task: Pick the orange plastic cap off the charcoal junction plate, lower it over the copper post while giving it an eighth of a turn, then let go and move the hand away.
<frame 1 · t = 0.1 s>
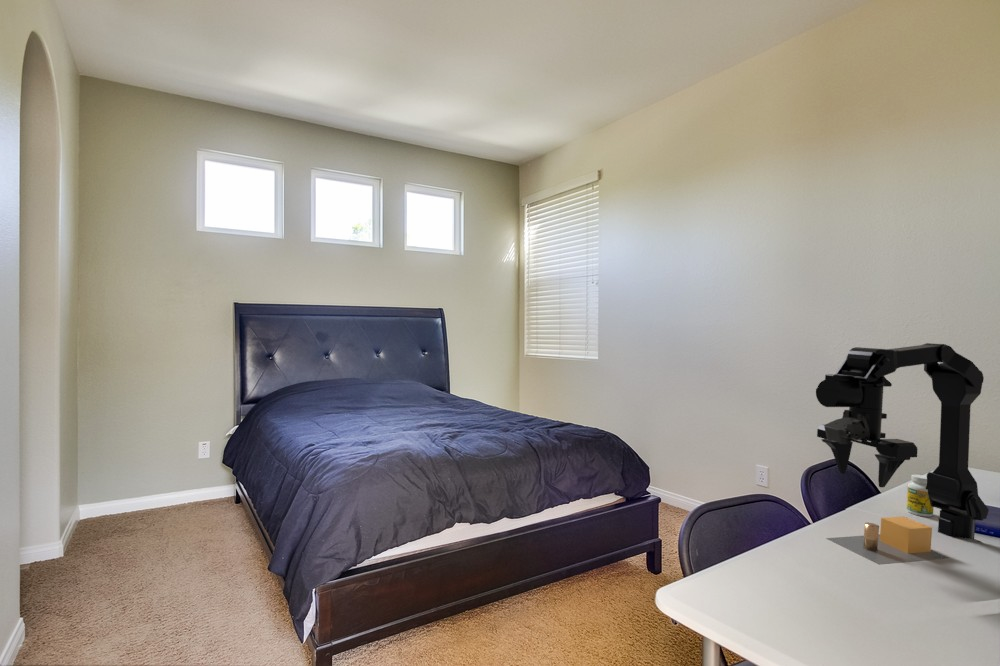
hand: (861, 480, 111), 14 cm above the table, fingers open, 9 cm apart
supplement bottle: (919, 514, 135), on the table
junction plate: (885, 554, 109), on the table
orange cap: (904, 546, 110), point 1 cm above the table, touching junction plate
copper post: (870, 548, 108), resting on junction plate
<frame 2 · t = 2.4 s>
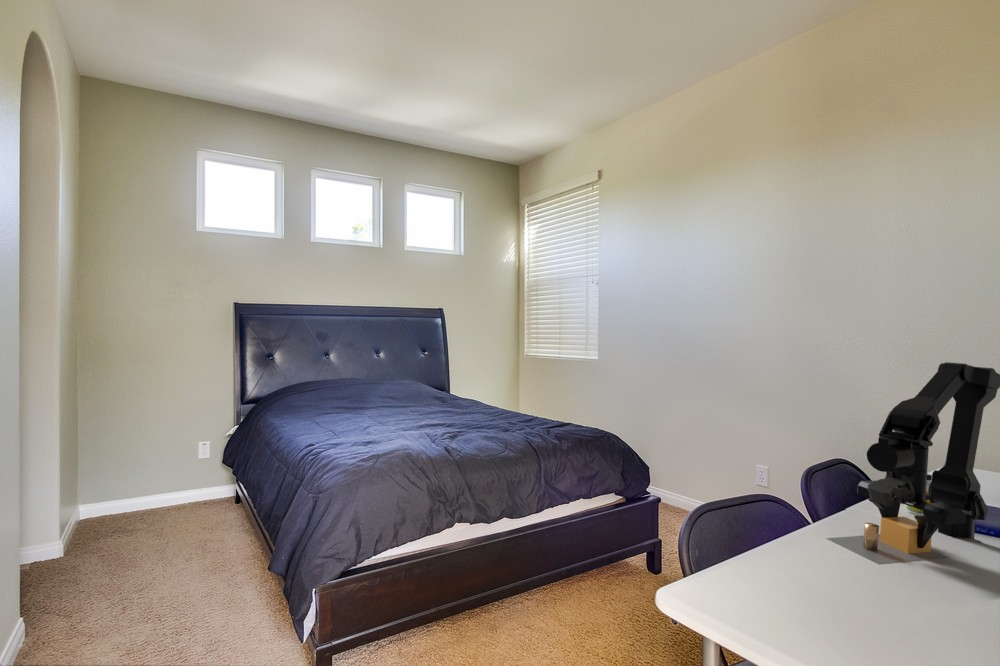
hand: (904, 541, 110), 3 cm above the table, fingers closed on orange cap, 6 cm apart
orange cap: (904, 546, 110), point 1 cm above the table, touching gripper, junction plate
everything else where it was.
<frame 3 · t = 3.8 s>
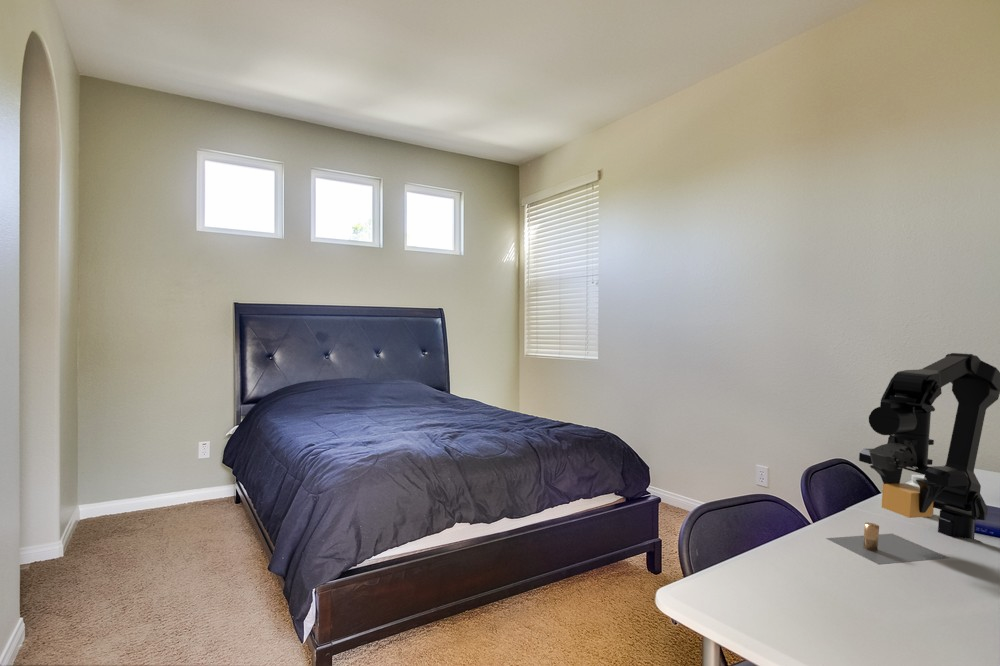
hand: (906, 506, 110), 10 cm above the table, fingers closed on orange cap, 6 cm apart
orange cap: (906, 511, 110), point 9 cm above the table, touching gripper
everything else where it was.
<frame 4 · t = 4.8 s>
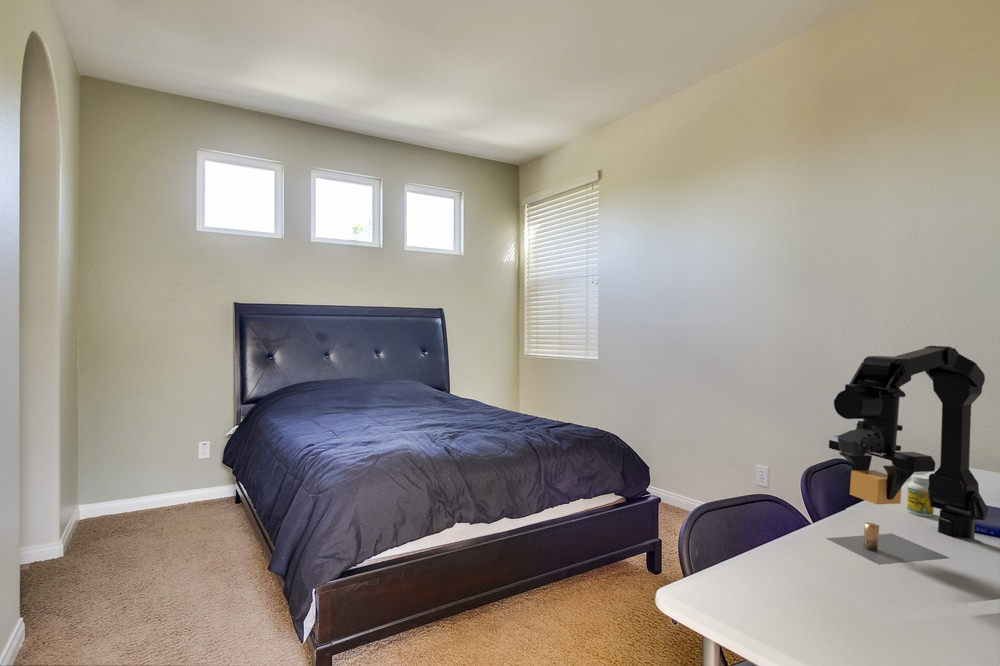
hand: (874, 494, 107), 13 cm above the table, fingers closed on orange cap, 6 cm apart
orange cap: (874, 498, 107), point 12 cm above the table, touching gripper
everything else where it was.
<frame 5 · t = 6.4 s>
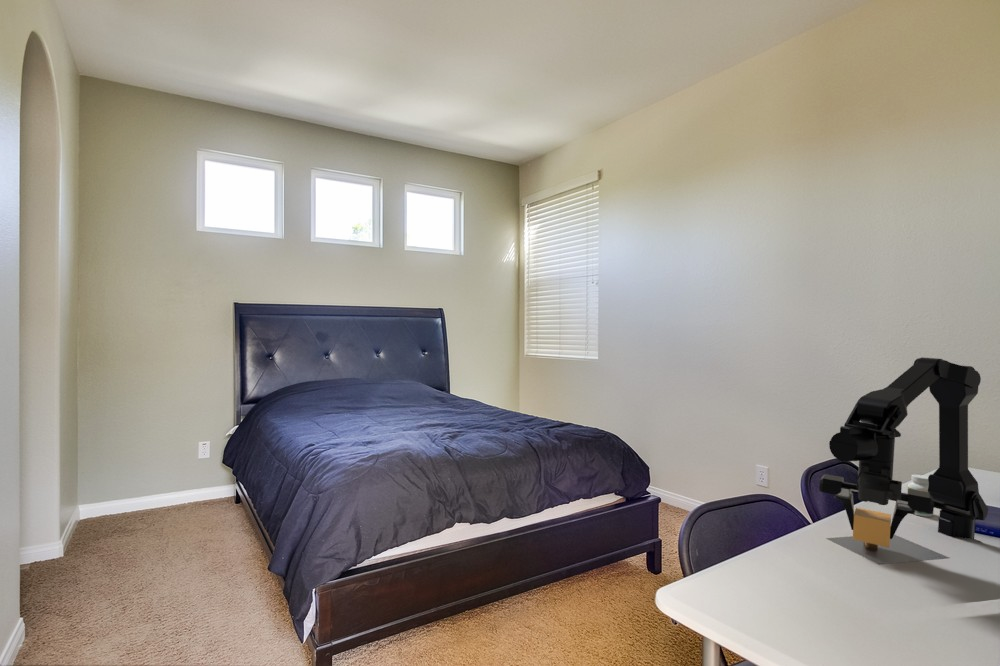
hand: (871, 533, 108), 5 cm above the table, fingers closed on orange cap, 6 cm apart
orange cap: (871, 538, 108), point 4 cm above the table, touching gripper
everything else where it was.
when the fingers open (4 cm above the table, at t = 7.5 s): orange cap stays where it is, resting on copper post.
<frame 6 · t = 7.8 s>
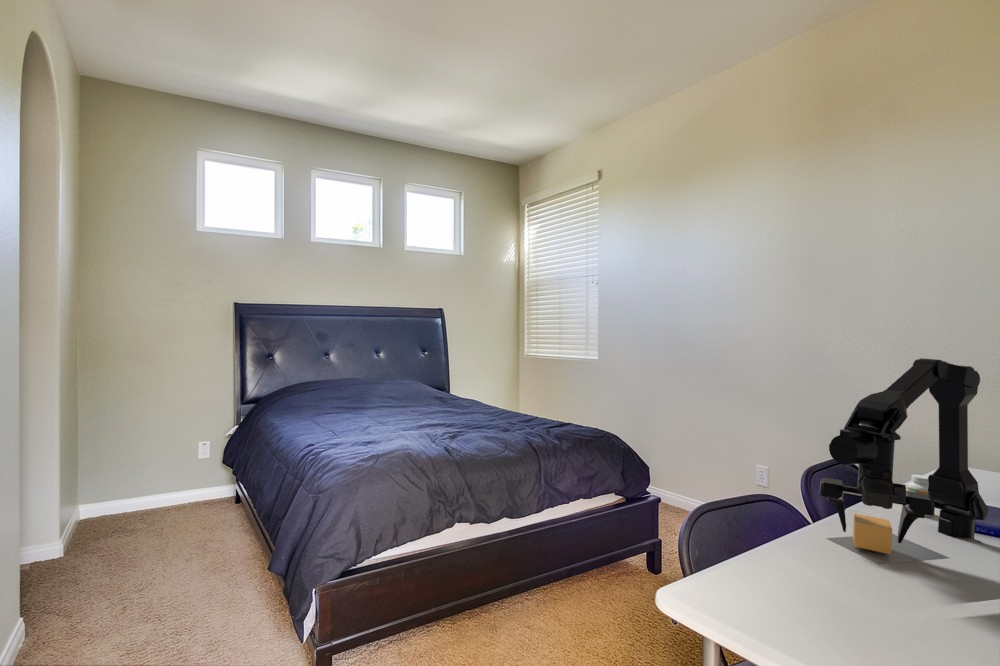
hand: (871, 536, 108), 4 cm above the table, fingers open, 9 cm apart
orange cap: (870, 545, 108), point 2 cm above the table, touching copper post
everything else where it was.
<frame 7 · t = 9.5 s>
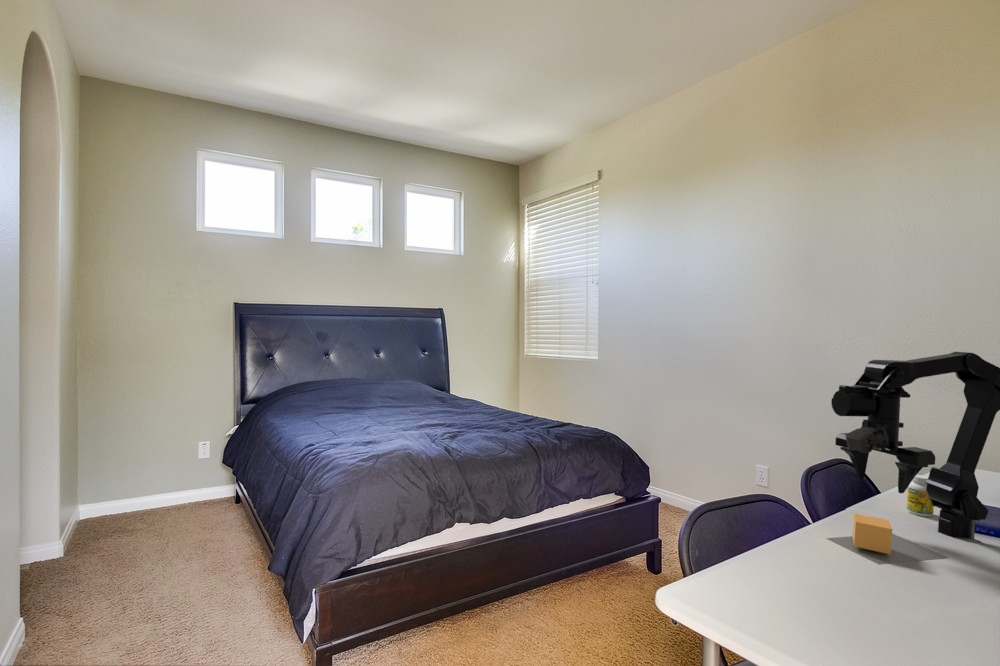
hand: (880, 486, 117), 12 cm above the table, fingers open, 9 cm apart
nothing on the table moved.
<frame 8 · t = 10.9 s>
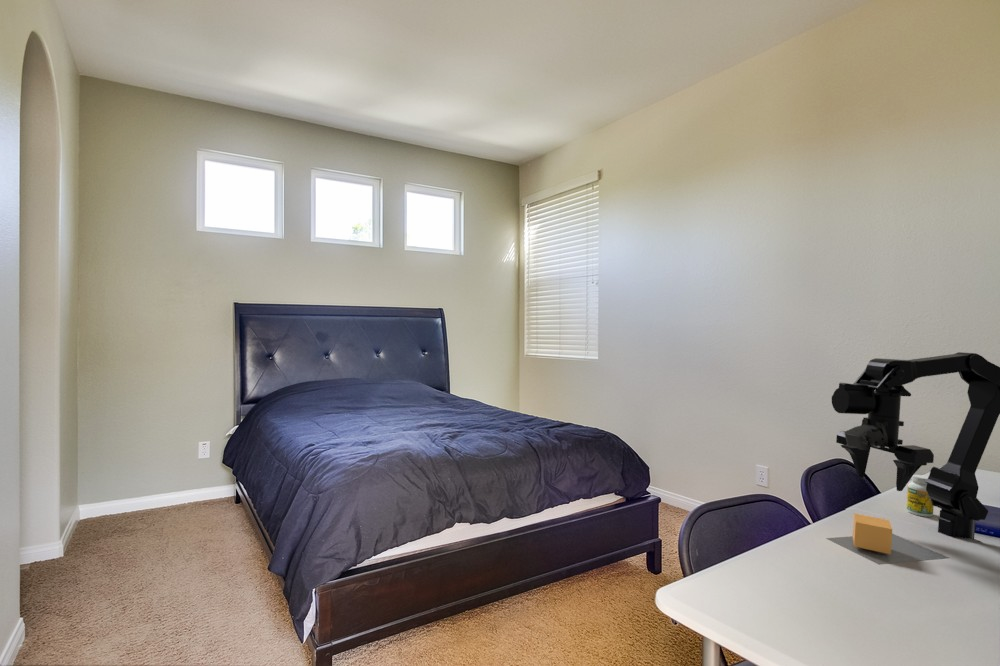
hand: (879, 484, 118), 12 cm above the table, fingers open, 9 cm apart
nothing on the table moved.
at the end: orange cap 0.1 cm from the copper post (horizontally); orange cap point 2.3 cm above the table; the gripper is holding nothing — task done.
